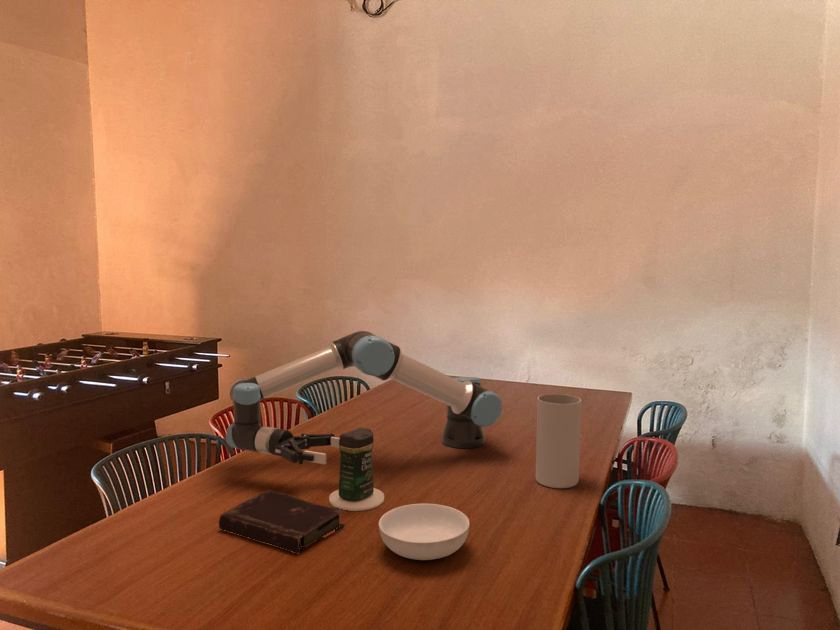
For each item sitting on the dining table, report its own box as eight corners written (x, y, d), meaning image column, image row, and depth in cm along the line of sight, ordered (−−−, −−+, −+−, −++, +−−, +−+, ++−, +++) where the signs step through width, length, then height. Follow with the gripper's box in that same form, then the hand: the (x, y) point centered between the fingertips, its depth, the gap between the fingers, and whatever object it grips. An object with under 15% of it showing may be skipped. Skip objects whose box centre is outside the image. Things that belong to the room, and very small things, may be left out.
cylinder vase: (580, 476, 201) (583, 395, 198) (576, 491, 189) (578, 405, 186) (539, 472, 205) (541, 392, 202) (532, 486, 193) (534, 402, 190)
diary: (297, 559, 151) (297, 538, 150) (218, 533, 163) (218, 514, 162) (346, 526, 167) (346, 507, 166) (271, 506, 179) (271, 488, 178)
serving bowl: (377, 531, 163) (377, 504, 163) (462, 528, 165) (462, 502, 164) (379, 573, 143) (379, 543, 142) (476, 570, 144) (476, 540, 144)
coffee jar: (356, 505, 176) (356, 437, 174) (334, 498, 181) (333, 432, 179) (378, 493, 184) (378, 428, 182) (356, 487, 189) (356, 423, 187)
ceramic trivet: (385, 489, 190) (385, 486, 190) (382, 511, 175) (382, 507, 175) (332, 489, 190) (332, 486, 190) (325, 510, 175) (325, 507, 175)
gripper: (300, 442, 203) (360, 451, 195) (247, 467, 180) (313, 479, 172) (299, 418, 202) (360, 426, 194) (246, 440, 180) (313, 451, 171)
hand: (338, 451), depth 183 cm, fingers open, 13 cm apart
